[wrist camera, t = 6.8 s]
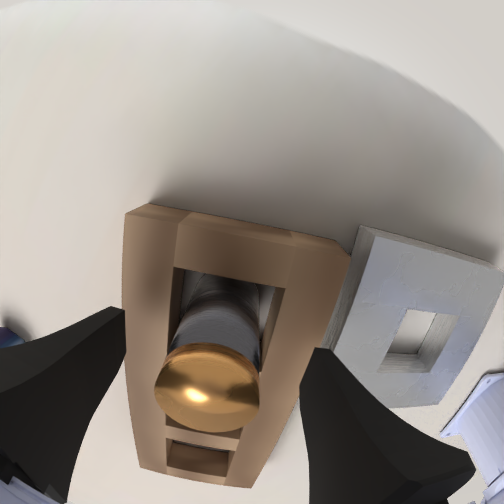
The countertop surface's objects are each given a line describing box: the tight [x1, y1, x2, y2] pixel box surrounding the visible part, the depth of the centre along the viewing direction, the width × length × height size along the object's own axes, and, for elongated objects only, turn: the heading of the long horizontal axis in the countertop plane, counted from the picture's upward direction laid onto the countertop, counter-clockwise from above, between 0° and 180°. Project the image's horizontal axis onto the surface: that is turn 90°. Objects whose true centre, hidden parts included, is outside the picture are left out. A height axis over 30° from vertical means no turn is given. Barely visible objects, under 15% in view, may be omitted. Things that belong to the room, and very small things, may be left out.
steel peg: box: [154, 274, 260, 432], centre depth 11 cm, size 3×3×7 cm
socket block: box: [320, 225, 504, 408], centre depth 14 cm, size 10×10×2 cm
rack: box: [122, 204, 351, 488], centre depth 15 cm, size 9×20×2 cm, turn 169°
